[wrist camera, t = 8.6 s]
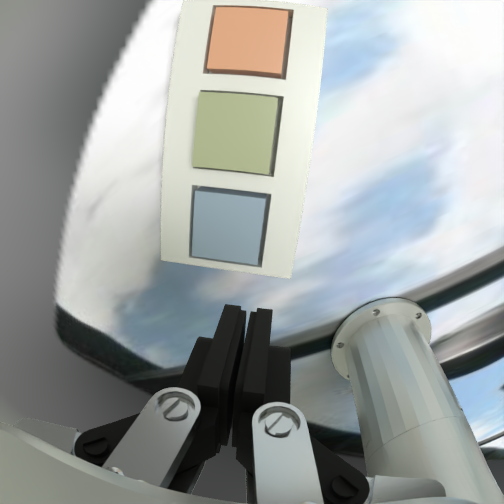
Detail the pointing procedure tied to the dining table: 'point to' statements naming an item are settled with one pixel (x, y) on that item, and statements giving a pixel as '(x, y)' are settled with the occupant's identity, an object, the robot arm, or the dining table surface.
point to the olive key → (234, 132)
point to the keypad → (284, 143)
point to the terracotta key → (248, 41)
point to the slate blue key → (228, 224)
